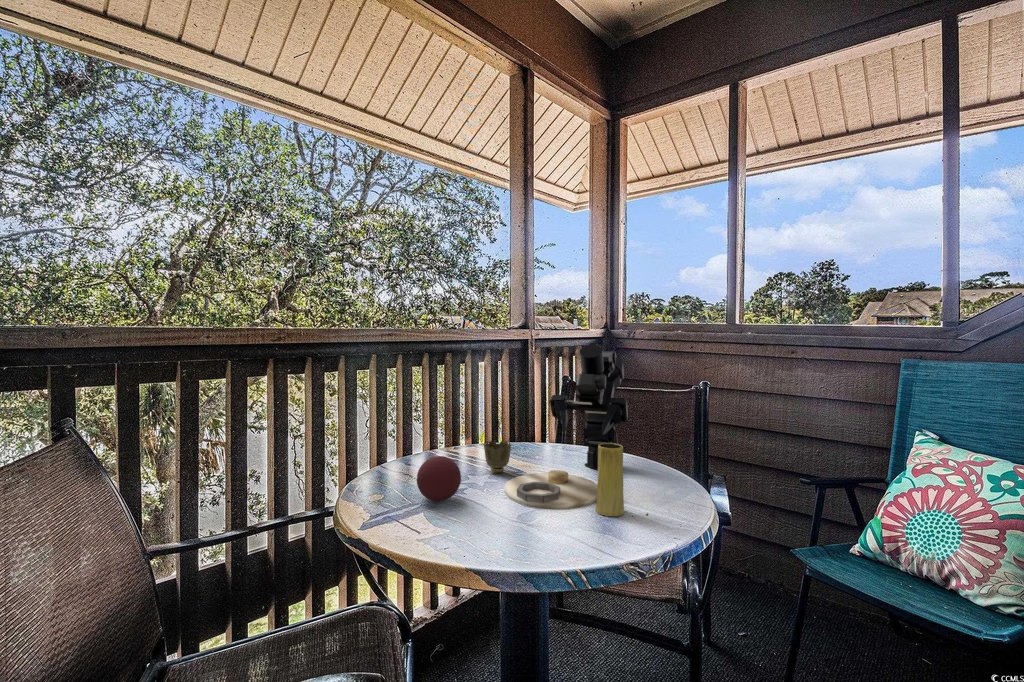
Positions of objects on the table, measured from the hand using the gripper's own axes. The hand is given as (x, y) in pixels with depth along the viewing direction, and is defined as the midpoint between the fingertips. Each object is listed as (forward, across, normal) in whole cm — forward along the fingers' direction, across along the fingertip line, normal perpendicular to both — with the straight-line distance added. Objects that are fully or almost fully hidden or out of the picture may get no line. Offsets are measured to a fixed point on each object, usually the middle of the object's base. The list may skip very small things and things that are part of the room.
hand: (582, 432), depth 111 cm
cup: (0, -26, +19) cm, 32 cm away
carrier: (+8, -8, +13) cm, 17 cm away
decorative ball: (+20, -30, +5) cm, 37 cm away
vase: (+15, +7, +9) cm, 19 cm away
